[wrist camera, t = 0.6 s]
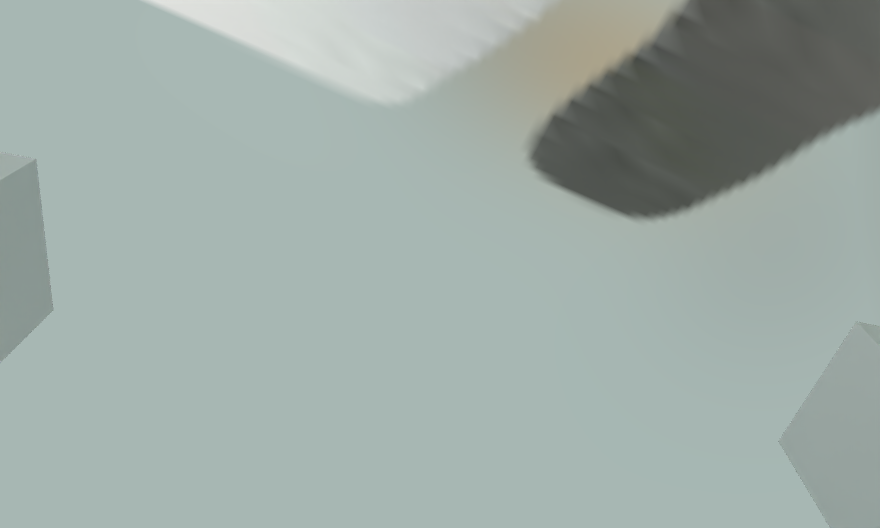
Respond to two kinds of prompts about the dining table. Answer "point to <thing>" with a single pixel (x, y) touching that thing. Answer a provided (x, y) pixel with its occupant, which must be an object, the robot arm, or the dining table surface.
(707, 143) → the dining table surface
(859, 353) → the robot arm
